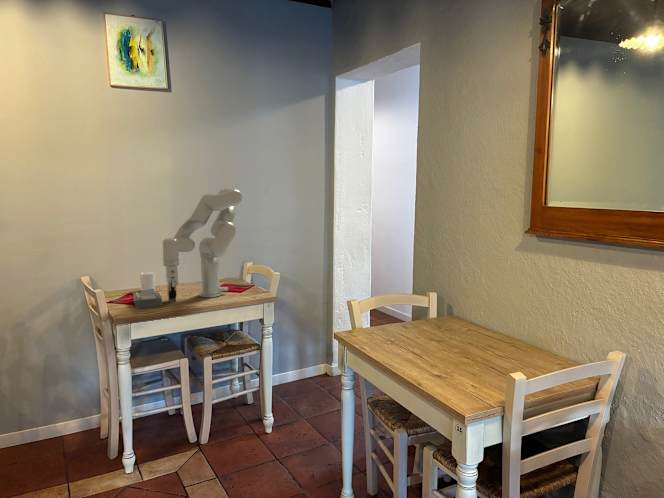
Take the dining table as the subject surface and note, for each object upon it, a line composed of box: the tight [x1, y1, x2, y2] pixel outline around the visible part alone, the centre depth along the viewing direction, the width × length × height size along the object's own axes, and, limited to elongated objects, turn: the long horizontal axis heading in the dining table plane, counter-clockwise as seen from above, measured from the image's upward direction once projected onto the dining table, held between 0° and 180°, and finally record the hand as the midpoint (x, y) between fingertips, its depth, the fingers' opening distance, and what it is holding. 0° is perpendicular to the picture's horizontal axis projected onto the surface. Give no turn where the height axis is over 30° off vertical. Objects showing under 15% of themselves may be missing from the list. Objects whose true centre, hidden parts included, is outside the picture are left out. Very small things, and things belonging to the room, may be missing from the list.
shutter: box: [140, 288, 156, 300], centre depth 238 cm, size 6×6×4 cm
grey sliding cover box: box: [133, 290, 163, 310], centre depth 244 cm, size 12×16×5 cm
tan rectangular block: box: [166, 283, 178, 303], centre depth 249 cm, size 4×4×9 cm
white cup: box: [139, 271, 156, 291], centre depth 269 cm, size 8×8×10 cm
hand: (172, 296), depth 249 cm, fingers closed on tan rectangular block, 4 cm apart
